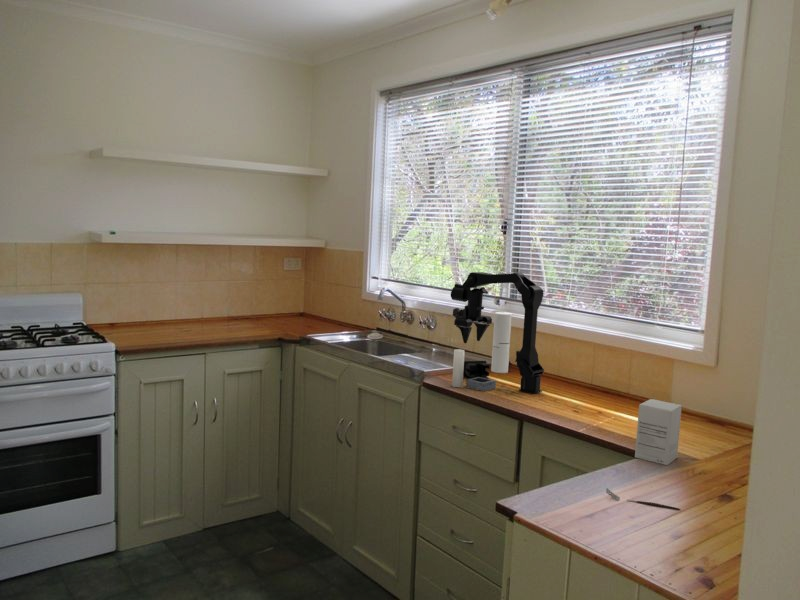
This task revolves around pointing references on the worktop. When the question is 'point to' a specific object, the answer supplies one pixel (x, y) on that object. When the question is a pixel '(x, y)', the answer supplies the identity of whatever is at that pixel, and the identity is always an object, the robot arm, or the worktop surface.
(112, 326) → the worktop surface
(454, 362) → the white tapered peg
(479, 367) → the end cap
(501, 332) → the cylindrical container
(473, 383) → the square frame
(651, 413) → the supplement box
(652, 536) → the worktop surface
